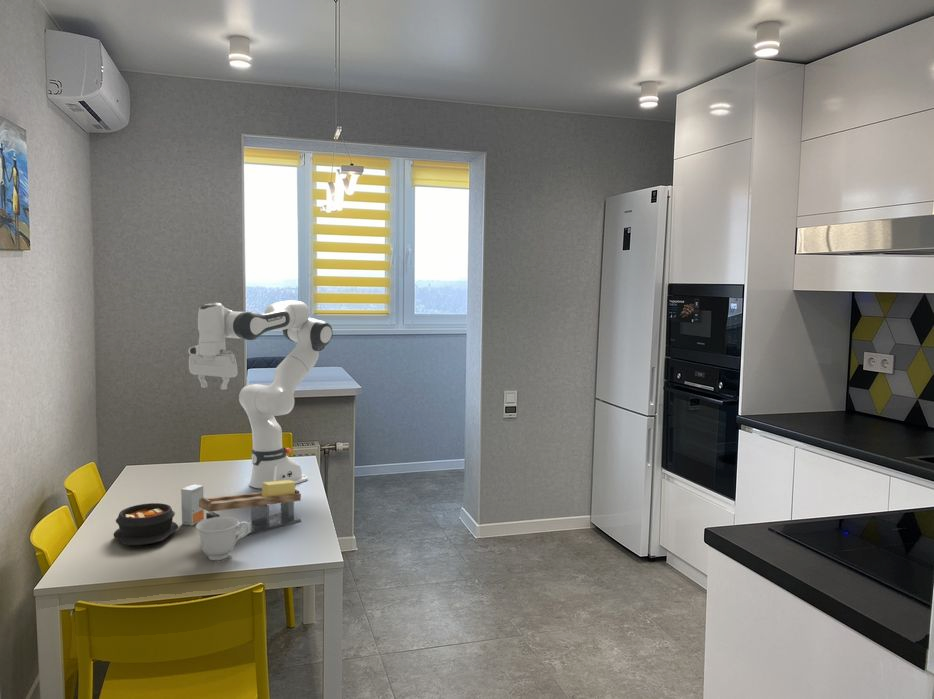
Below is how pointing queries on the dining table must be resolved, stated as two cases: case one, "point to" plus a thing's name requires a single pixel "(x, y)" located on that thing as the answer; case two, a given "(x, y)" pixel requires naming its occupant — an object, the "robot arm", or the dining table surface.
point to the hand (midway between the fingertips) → (214, 388)
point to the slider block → (278, 488)
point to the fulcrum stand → (265, 518)
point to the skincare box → (192, 504)
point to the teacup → (219, 535)
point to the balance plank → (245, 501)
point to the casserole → (145, 524)
